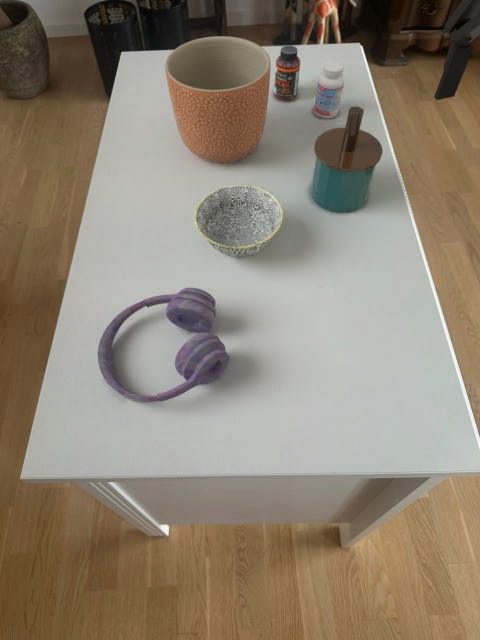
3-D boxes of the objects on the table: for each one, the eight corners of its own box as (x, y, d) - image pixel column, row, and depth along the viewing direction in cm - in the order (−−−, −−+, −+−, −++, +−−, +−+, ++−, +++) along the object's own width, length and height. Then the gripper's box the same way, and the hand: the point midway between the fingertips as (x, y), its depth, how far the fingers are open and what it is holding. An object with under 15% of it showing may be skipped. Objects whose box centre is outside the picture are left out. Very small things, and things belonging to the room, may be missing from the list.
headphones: (216, 295, 78) (108, 327, 79) (205, 267, 71) (87, 303, 72) (239, 388, 69) (116, 424, 69) (229, 366, 62) (93, 406, 62)
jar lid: (376, 180, 81) (389, 137, 73) (307, 168, 83) (313, 126, 75) (384, 138, 87) (396, 95, 80) (320, 128, 89) (326, 86, 82)
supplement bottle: (271, 100, 112) (273, 54, 103) (276, 88, 115) (278, 41, 106) (295, 103, 111) (299, 56, 102) (298, 90, 115) (303, 44, 105)
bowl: (240, 288, 80) (239, 261, 74) (181, 244, 86) (176, 215, 80) (297, 241, 86) (300, 212, 80) (238, 202, 92) (237, 173, 86)
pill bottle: (308, 112, 109) (314, 65, 100) (324, 102, 112) (331, 55, 102) (327, 122, 107) (335, 75, 97) (343, 111, 109) (352, 65, 100)
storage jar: (375, 205, 91) (389, 162, 82) (323, 218, 89) (331, 175, 81) (352, 170, 97) (362, 127, 88) (302, 181, 95) (308, 138, 87)
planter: (283, 158, 100) (289, 73, 84) (198, 186, 95) (188, 102, 79) (243, 111, 110) (242, 27, 94) (165, 134, 105) (150, 50, 89)
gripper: (458, -122, 46) (400, 80, 64) (640, -30, 33) (503, 191, 51) (520, -129, 47) (446, 71, 65) (720, -43, 34) (559, 178, 52)
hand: (471, 124), depth 58 cm, fingers open, 13 cm apart
